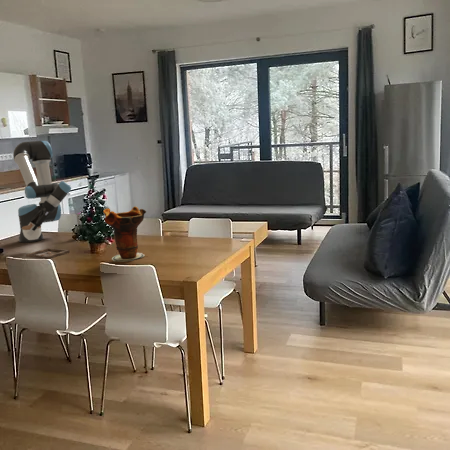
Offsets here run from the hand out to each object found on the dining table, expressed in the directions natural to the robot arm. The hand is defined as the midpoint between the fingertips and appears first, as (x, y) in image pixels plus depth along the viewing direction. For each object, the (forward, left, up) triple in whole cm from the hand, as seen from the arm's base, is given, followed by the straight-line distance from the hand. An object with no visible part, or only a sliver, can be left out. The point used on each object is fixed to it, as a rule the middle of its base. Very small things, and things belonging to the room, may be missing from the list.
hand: (27, 233), depth 293 cm
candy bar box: (-45, +1, -11) cm, 46 cm away
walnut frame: (+1, +18, -11) cm, 21 cm away
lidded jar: (-3, +1, -4) cm, 5 cm away
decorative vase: (-10, +69, -11) cm, 70 cm away
